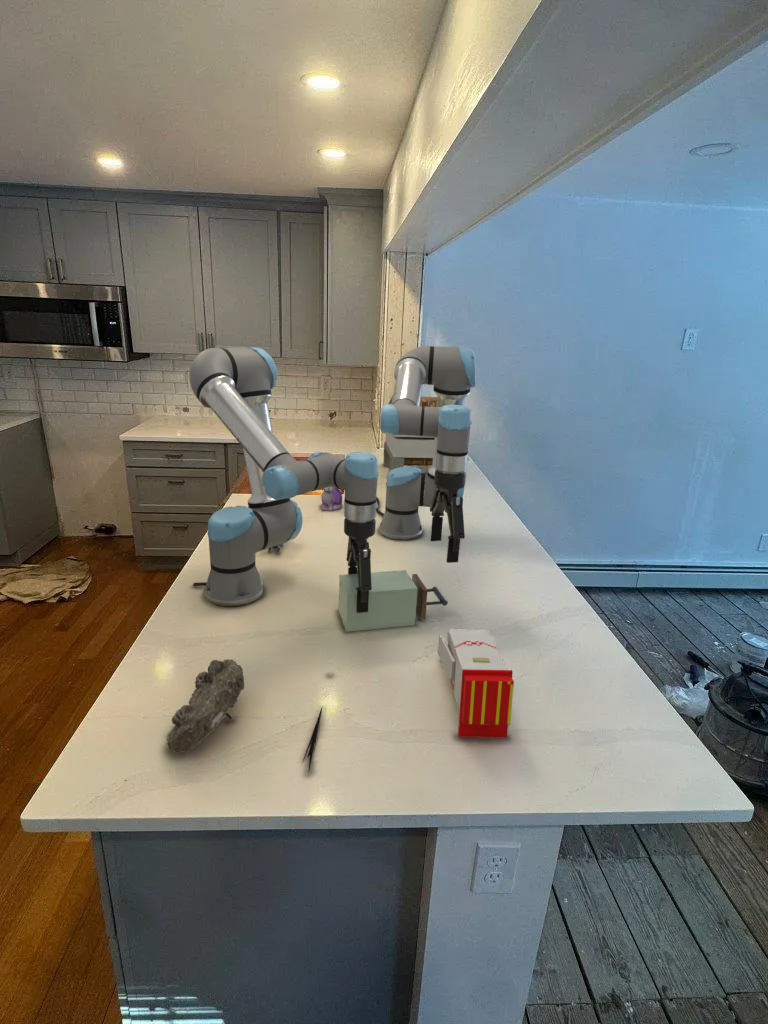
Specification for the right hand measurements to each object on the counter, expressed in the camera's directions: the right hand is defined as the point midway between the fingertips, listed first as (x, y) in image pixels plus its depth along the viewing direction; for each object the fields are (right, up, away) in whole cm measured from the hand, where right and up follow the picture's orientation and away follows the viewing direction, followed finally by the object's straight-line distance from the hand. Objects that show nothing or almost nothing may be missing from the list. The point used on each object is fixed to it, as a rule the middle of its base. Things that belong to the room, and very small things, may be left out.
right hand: (443, 550), depth 144 cm
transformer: (+2, +29, +130) cm, 134 cm away
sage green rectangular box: (-17, -17, +1) cm, 24 cm away
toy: (+3, -28, -26) cm, 38 cm away
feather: (-28, -30, -36) cm, 54 cm away
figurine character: (-50, -1, +41) cm, 65 cm away
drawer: (-11, -16, +2) cm, 19 cm away
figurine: (-36, +12, +78) cm, 87 cm away
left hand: (-22, -12, -2) cm, 25 cm away
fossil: (-48, -29, -36) cm, 67 cm away
